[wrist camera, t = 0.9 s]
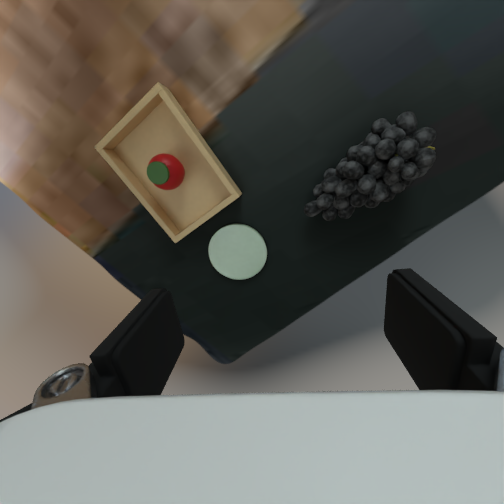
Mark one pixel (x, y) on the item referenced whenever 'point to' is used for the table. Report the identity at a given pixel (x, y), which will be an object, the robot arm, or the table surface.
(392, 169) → the fruit
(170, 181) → the strawberry
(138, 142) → the tray
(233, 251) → the coaster
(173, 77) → the table surface
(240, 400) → the robot arm
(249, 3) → the table surface
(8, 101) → the table surface
